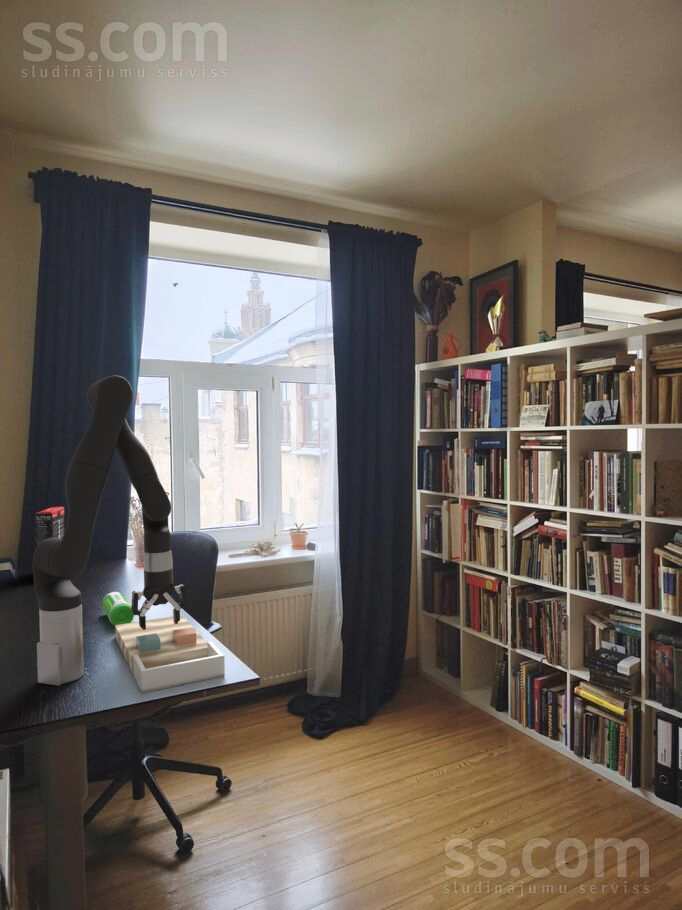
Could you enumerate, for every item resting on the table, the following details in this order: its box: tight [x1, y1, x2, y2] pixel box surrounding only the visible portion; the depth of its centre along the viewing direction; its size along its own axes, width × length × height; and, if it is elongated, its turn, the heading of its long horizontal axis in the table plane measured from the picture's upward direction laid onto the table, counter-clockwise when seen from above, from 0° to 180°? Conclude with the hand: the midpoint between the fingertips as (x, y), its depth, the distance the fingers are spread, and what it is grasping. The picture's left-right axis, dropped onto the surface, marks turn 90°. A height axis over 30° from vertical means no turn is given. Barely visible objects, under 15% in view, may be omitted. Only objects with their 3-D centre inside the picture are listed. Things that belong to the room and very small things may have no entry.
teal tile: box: [136, 633, 161, 652], centre depth 151 cm, size 5×5×2 cm
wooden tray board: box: [114, 614, 208, 676], centre depth 160 cm, size 30×19×4 cm, turn 29°
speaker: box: [101, 591, 135, 627], centre depth 184 cm, size 18×7×8 cm, turn 30°
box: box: [133, 640, 226, 694], centre depth 142 cm, size 11×19×5 cm, turn 119°
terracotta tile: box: [173, 627, 197, 646], centre depth 156 cm, size 5×5×2 cm
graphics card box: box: [35, 506, 65, 549], centre depth 240 cm, size 17×7×27 cm, turn 10°
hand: (160, 626), depth 161 cm, fingers open, 8 cm apart
